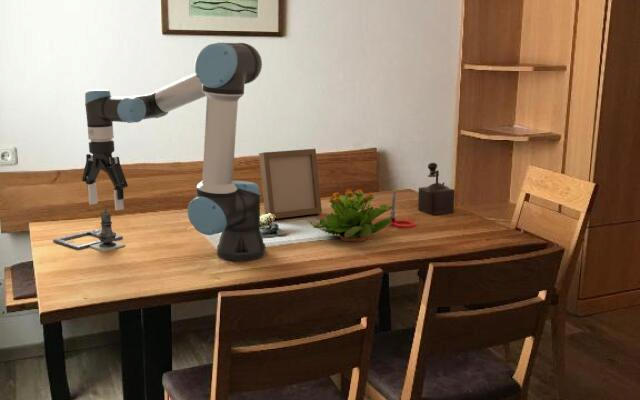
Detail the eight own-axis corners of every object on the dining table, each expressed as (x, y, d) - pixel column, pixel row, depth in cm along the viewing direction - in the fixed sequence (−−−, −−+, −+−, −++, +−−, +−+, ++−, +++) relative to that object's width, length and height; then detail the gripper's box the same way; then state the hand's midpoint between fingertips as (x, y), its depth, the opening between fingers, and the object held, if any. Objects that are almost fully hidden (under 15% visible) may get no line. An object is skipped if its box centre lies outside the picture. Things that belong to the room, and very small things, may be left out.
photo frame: (321, 215, 268) (322, 150, 263) (270, 221, 258) (270, 154, 252) (303, 207, 281) (304, 145, 275) (253, 213, 270) (253, 149, 265)
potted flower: (346, 224, 255) (347, 177, 251) (404, 235, 242) (406, 186, 238) (306, 240, 235) (306, 189, 231) (366, 253, 222) (367, 199, 218)
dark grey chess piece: (111, 248, 222) (109, 211, 219) (94, 247, 223) (92, 210, 220) (120, 243, 227) (118, 207, 224) (103, 241, 228) (101, 206, 226)
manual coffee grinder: (455, 213, 274) (458, 167, 270) (433, 216, 269) (435, 169, 265) (431, 204, 288) (433, 161, 284) (409, 207, 283) (411, 163, 279)
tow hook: (416, 224, 258) (392, 221, 261) (420, 190, 255) (395, 187, 258) (412, 230, 250) (386, 226, 253) (415, 195, 247) (389, 192, 250)
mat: (125, 246, 226) (125, 244, 226) (104, 251, 220) (104, 250, 220) (110, 241, 230) (110, 240, 230) (89, 247, 224) (89, 245, 224)
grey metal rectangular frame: (122, 238, 235) (122, 235, 234) (78, 249, 221) (77, 246, 221) (97, 231, 243) (97, 228, 243) (53, 241, 230) (53, 238, 230)
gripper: (67, 138, 222) (73, 203, 227) (115, 144, 207) (120, 214, 211) (88, 135, 228) (93, 199, 232) (136, 141, 213) (140, 209, 217)
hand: (106, 206), depth 222 cm, fingers open, 13 cm apart
